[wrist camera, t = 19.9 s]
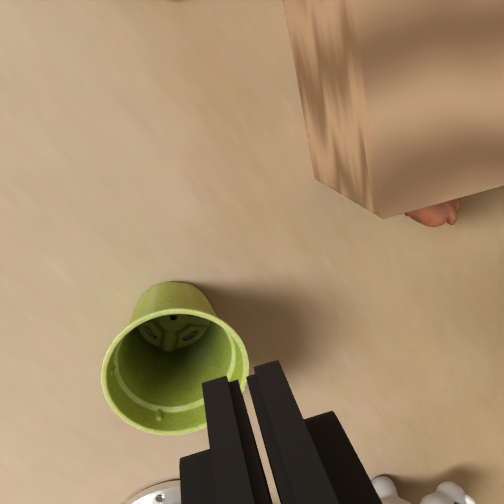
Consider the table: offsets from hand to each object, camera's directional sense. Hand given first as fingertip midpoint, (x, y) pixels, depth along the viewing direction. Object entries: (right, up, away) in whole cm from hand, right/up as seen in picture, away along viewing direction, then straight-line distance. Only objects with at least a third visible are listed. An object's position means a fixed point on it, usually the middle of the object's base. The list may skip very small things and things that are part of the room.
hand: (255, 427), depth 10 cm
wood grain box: (+9, +18, +25) cm, 32 cm away
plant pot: (-6, -1, +29) cm, 29 cm away
